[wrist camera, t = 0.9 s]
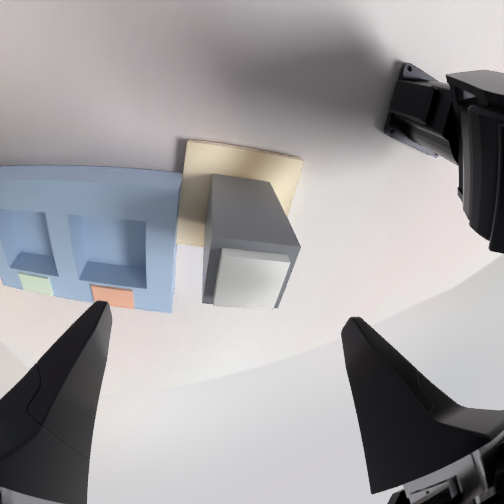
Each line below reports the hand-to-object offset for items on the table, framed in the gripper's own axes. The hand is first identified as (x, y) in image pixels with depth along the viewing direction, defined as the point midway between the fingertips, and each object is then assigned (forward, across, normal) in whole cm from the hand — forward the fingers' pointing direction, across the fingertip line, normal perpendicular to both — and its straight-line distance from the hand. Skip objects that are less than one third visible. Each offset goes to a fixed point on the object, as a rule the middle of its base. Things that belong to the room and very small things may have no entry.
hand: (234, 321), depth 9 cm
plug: (+12, -1, +1) cm, 12 cm away
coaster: (+12, -1, +1) cm, 13 cm away
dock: (+12, +12, +5) cm, 18 cm away
